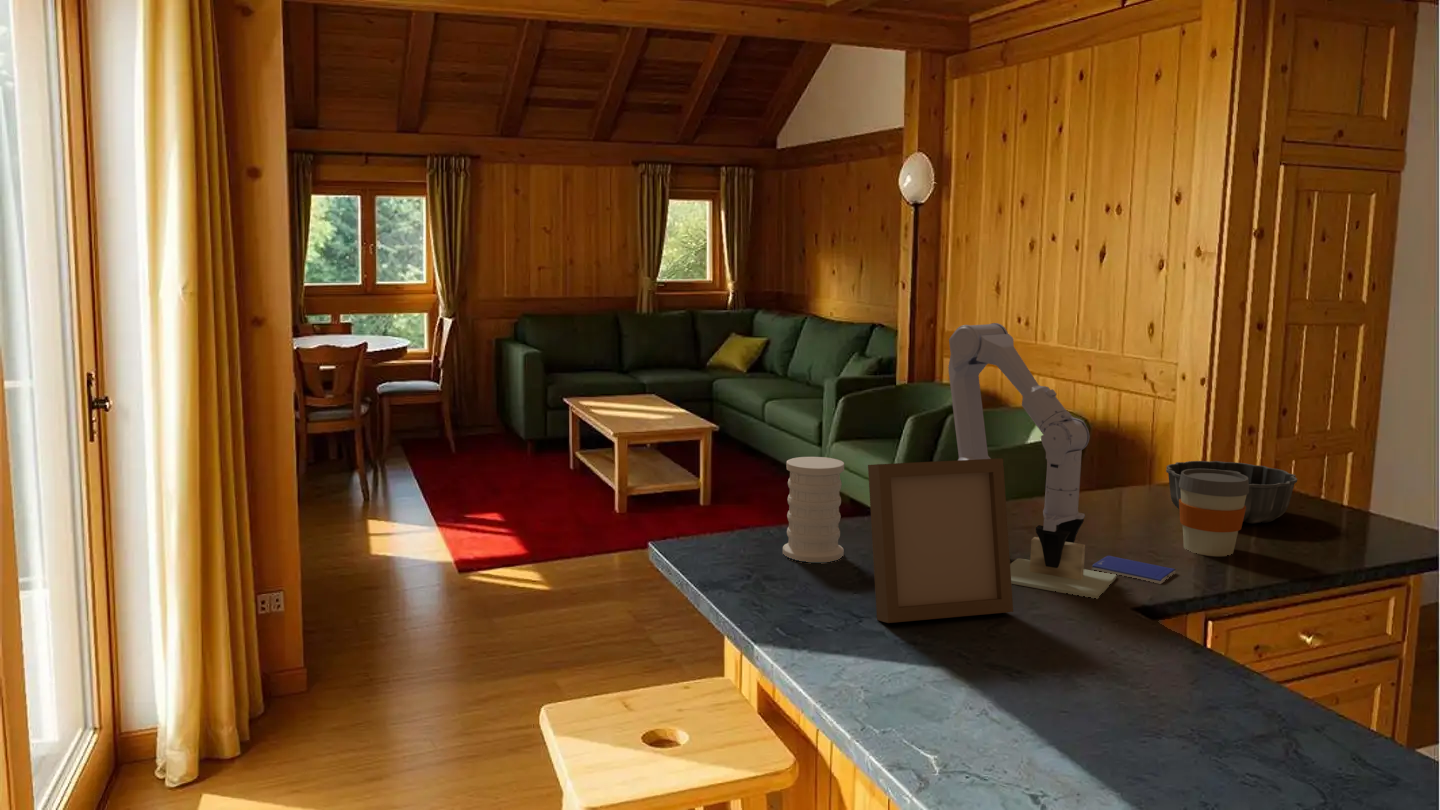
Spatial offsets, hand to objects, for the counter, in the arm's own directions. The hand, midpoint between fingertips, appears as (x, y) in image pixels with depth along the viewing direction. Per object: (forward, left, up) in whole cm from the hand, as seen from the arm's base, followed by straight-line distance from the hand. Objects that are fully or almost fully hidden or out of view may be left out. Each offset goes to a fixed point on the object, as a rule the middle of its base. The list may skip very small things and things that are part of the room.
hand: (1057, 561), depth 197 cm
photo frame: (-13, -28, -3) cm, 31 cm away
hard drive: (+11, +12, -4) cm, 16 cm away
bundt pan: (+19, +67, -3) cm, 70 cm away
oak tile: (0, 0, -2) cm, 2 cm away
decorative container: (-43, -12, -3) cm, 45 cm away
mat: (0, -1, -3) cm, 3 cm away
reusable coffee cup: (+20, +35, -3) cm, 40 cm away
